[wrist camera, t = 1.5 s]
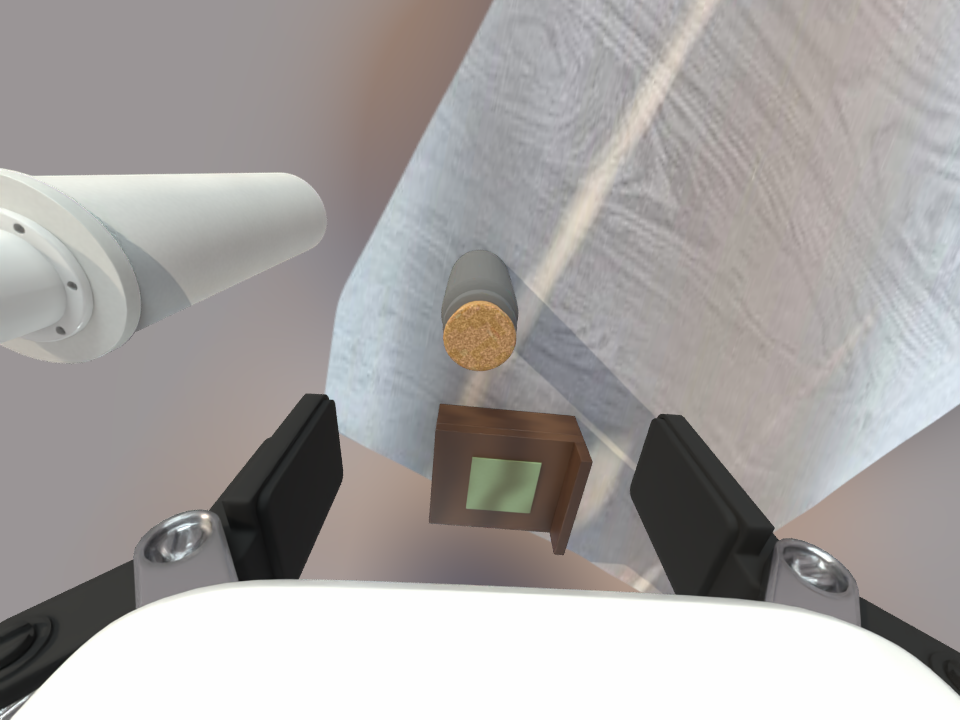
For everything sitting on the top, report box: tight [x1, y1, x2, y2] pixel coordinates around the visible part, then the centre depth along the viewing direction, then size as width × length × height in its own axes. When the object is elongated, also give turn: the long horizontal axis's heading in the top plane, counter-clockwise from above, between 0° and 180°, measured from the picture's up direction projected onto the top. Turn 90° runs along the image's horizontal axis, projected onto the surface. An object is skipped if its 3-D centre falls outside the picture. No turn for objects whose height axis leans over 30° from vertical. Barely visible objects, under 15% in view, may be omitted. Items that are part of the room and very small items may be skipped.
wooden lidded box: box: [429, 404, 592, 555], centre depth 44 cm, size 16×14×8 cm
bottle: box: [441, 250, 518, 371], centre depth 31 cm, size 6×6×15 cm
